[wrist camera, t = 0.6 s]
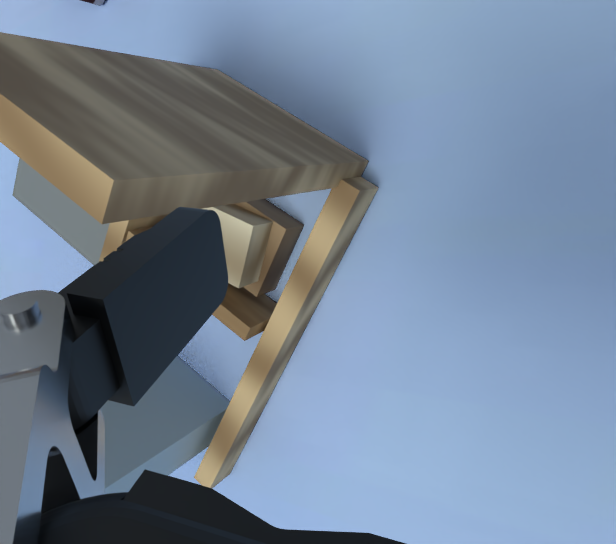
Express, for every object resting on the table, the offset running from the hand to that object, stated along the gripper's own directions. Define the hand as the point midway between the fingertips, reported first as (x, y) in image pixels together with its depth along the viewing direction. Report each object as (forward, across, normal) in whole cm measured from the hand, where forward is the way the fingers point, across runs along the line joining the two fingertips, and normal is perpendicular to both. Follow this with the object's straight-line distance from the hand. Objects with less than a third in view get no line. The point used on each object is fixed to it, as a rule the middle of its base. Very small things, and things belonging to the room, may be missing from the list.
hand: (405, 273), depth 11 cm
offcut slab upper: (+18, +14, +10) cm, 25 cm away
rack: (+19, +16, +15) cm, 29 cm away
